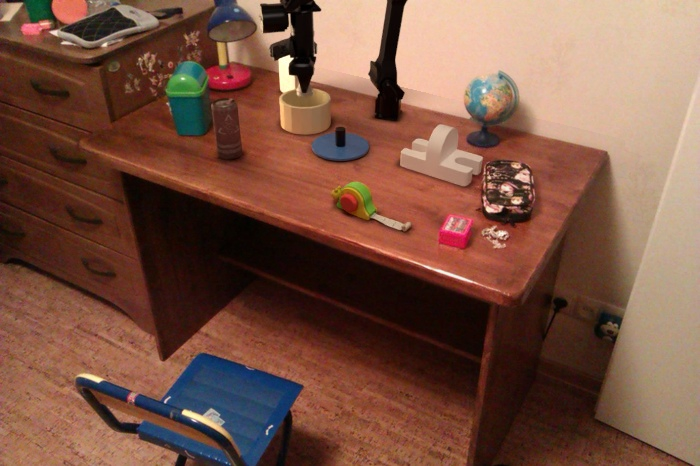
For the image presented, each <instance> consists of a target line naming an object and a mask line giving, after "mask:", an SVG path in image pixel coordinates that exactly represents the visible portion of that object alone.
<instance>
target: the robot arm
mask: <svg viewBox="0 0 700 466" xmlns="http://www.w3.org/2000/svg"><path fill="white" fill-rule="evenodd" d="M408 1H409V0H386V6H385V12H384V18H383V19H384V20H383V25H382V26H383V27H382V32H381V39H380V46H379V52H378V56H377V58H376V59H375V60H370V62H369V71H368V73H367V75H368V77H369V80H370V82H371V84H372V85H373V86H374V87H375V89H376V90H377V91H378V93H377V94H376V98H375V99H374V113H375V114H374V118H375V119H380V120H388V121H393V122H395V121H398V120H399V118H400V117H401V115H402V113H403V110H402V100H403V99H404V96H405V94H406V92H405V91H404V90H403V88H402V87H400V85H399V84H398V69H397V63H396V58H397V51H398V46H399V41H400V34H401V30H402V29H401V28H402V23H403V16H404V10H405V6H406V4H407V2H408ZM320 12H322V8H321V7H320V6H319V5H318V4H317V3H316V1H315V0H279V3H278V2H277V3H260V4H259V15H258V20H259V29H260V32H261V34H263V35H264V34H274V33H275V34H276V33H285V32H286V31H287V30H288V28H289V27H290V34H289V35H290V36H289V37H288V38H283V39H280V40H279V41H275V42H273V43H271V44H270V45H269V48H268V51H269V53H270V54H269V55H270V58H272V60H273V62H276V61H279V59H280V58H283V57H286V56H288V55H290V58H293V60H292V61H291V62H290V63H289V67H288V72H289V75H291V76H297V78H298V81H299V84H300V87H301V91H302V93H306V92H307V89H308V87H309V84H310V85H311V81H312V80H313V79H312V78H313V76H314V74H315V65H316V62H317V56H315V55H317V54H318V43H316V41H315V27H314V26H315V25H314V13H320Z"/></svg>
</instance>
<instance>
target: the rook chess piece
mask: <svg viewBox="0 0 700 466" xmlns="http://www.w3.org/2000/svg"><path fill="white" fill-rule="evenodd" d="M313 89H314V88H313V87H312V85H311V83H310V84H309V87H308V89H307V92H306V93H302V91H301V87H300V84H299V85H298V88H297V93H296V94H297V95H298V96H299V97H301V98H308V97H311V96H312V95H313V92H312V91H313Z"/></svg>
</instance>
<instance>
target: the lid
mask: <svg viewBox="0 0 700 466" xmlns="http://www.w3.org/2000/svg"><path fill="white" fill-rule="evenodd" d="M334 128H335V129H334V132H328V133H325V134H321V135H320V136H317V137H316V138H315V139H313V141H312V142H311V150H312V152H313V153H314V154H315V155H316V156H318V157H319V158H322V159H324V160H327V161H336V162H338V161H339V162H345V161H352V160H356V159H359V158H361V157H364V156H365V155H367V153H369V150H370V143H369V141H368V140H367V139H366V137H365V138H364V137H363V136H362V135H359V134H357V133H356V134H355V133H352V132H347V130H346V127H344V126H336V127H334Z"/></svg>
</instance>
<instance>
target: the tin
mask: <svg viewBox="0 0 700 466" xmlns="http://www.w3.org/2000/svg"><path fill="white" fill-rule="evenodd" d="M312 89H313V91H312V92H313V95H312V96H311V97H308V98H301V97H299V96H298V95H297V94H296V93H297V89H293V90H289V91H287V92H284V93H283V92H282V94H281V95H279V97H278V98H279V99H278V100H279V114H280V115H279V116H280V117H279V119H280V127H281V128H282V129H283V130H284V131H285V132H287V133H290V134H295V135H305V136H306V135H307V136H308V135H315V134H319V133H322V132H325V131H326V130H328V129H329V128H330V126H331V123H332V113H331V110H332V104H331V102H332V101H331V99H332V98H331V95H330V94H329V93H328V92H326V91H325V90H322V89H320V88H319V89H318V88H312Z"/></svg>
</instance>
